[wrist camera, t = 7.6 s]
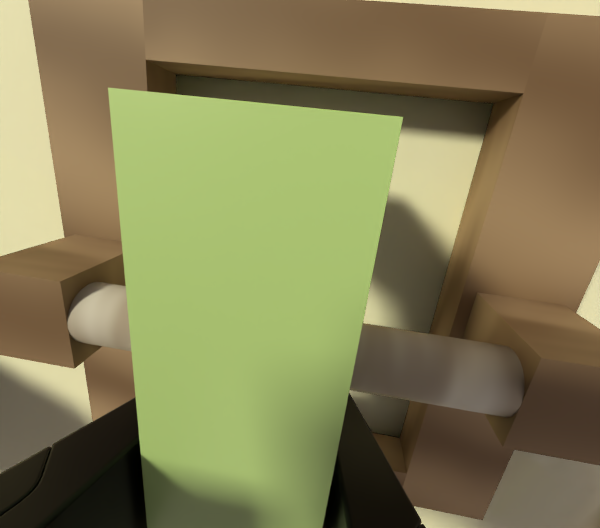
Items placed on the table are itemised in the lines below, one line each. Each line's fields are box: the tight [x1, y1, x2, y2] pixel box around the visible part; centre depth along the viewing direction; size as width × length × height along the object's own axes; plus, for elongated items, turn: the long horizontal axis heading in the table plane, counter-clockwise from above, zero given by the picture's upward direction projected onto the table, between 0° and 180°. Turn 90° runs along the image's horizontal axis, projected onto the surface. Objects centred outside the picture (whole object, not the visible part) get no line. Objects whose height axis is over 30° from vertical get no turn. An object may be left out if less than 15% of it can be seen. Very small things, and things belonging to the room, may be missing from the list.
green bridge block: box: [108, 88, 403, 528], centre depth 8 cm, size 12×3×7 cm, turn 174°
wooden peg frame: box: [0, 0, 600, 520], centre depth 12 cm, size 20×20×6 cm
